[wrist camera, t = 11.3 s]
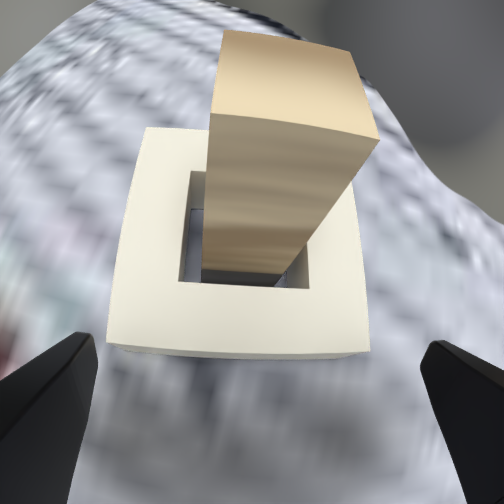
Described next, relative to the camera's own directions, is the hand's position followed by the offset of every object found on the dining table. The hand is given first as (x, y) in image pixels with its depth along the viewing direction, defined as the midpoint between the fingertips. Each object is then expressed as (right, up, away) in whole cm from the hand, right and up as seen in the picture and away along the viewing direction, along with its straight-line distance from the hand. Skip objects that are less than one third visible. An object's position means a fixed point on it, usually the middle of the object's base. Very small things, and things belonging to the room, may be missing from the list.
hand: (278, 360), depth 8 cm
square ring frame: (-1, +2, +12) cm, 12 cm away
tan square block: (-1, +2, +12) cm, 12 cm away
